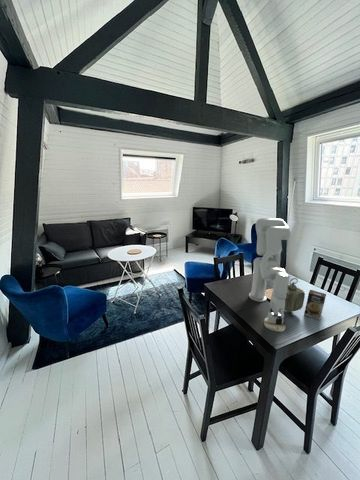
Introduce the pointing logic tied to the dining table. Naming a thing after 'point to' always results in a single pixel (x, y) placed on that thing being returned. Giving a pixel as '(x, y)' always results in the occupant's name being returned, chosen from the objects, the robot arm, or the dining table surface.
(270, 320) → the dial knob
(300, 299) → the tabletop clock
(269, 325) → the dial base
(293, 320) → the dining table surface
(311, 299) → the coffee box
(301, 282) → the dining table surface
